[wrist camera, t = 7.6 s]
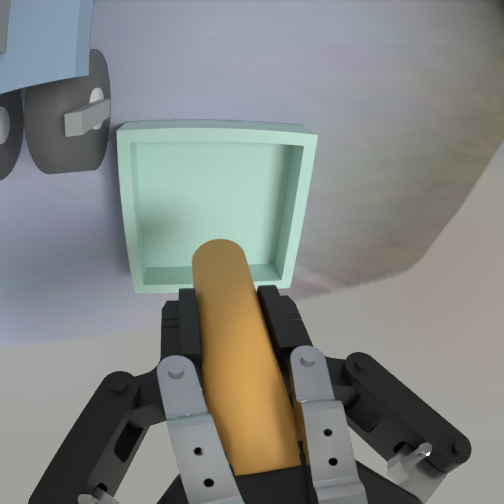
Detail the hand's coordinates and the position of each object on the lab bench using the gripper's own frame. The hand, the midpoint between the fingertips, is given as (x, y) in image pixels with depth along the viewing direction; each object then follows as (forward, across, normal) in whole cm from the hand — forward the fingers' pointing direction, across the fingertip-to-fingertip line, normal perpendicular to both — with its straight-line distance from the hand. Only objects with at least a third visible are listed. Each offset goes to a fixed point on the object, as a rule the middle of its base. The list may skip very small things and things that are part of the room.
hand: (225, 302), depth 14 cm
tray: (+11, 0, 0) cm, 11 cm away
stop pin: (+3, 0, 0) cm, 3 cm away
